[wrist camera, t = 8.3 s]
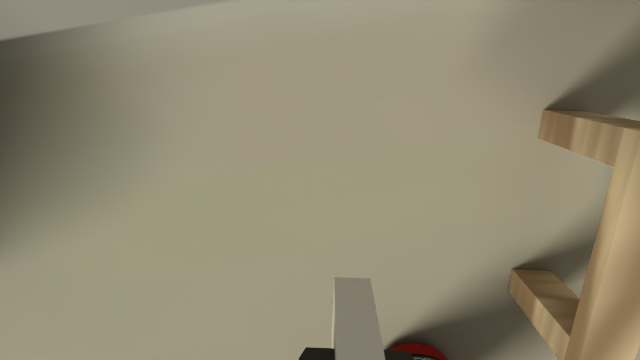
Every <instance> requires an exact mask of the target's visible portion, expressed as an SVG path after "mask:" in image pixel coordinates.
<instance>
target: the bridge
mask: <svg viewBox="0 0 640 360" xmlns="http://www.w3.org/2000/svg"><path fill="white" fill-rule="evenodd" d="M538 138H539V139H542V140H544V141H547V142H550V143H552V144H555V145H558V146H560V147H563V148H566V149H568V150H571V151H574V152H576V153H579V154H582V155H585V156H587V157H590V158H593V159H595V160H598V161H601V162H603V163H606V164H609V165H611V166H614V169H613V173H612V177H611V181H610V185H609V189H608V193H607V196H606V200H605V204H604V208H603V212H602V216H601V219H600V223H599V227H598V231H597V235H596V239H595V243H594V246H593V250H592V254H591V258H590V262H589V266H588V269H587V273H586V277H585V281H584V285H583V289H582V293H581V296H580V299H579V298H578V297H577V296H576V295H575V294H574V293H573V292H572V291H571V290H570V289H569V288H568V287H567V286H566V285H565V284H564V283H563V282H562V281H561V280H560V279H559V278H558V277H557V276H556V275H555V274H553V273H552V272H551V271H544V270H524V269H512V273H511V278H510V283H509V288H508V292H509V293H510V294H511V296H512V297H513V299H514V300H515V301H516V303H517V304H518V305H519V307H520V308H521V309H522V311H523V312H524V313H525V315H526V316H527V317H528V319H529V320H530V321H531V323H532V324H533V325H534V327H535V328H536V329H537V331H538V332H539V334H540V335H541V336H542V338H543V339H544V340H545V342H546V343H547V344H548V346H549V347H550V348H551V350H552V351H553V352H554V354H555V355H556V356H557V358H558V359H559V360H635V358H636V355H637V352H638V349H639V346H640V121H635V120H630V119H624V118H619V117H614V116H609V115H604V114H598V113H593V112H588V111H563V110H543V115H542V120H541V125H540V130H539V135H538Z"/></svg>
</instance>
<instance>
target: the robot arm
mask: <svg viewBox="0 0 640 360" xmlns="http://www.w3.org/2000/svg"><path fill="white" fill-rule="evenodd" d="M299 360H415V359H414V358H413V357H412V355H411V354H410V353H409V352H408V351H402V350H383V345H382V339H381V334H380V329H379V323H378V318H377V313H376V307H375V302H374V297H373V291H372V286H371V281H370V279H363V278H338V277H334V294H333V316H332V349H331V348H308V347H306V348H305V350H304V351H303V353H302V354H301V356H300V358H299Z"/></svg>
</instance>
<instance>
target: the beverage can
mask: <svg viewBox="0 0 640 360" xmlns="http://www.w3.org/2000/svg"><path fill="white" fill-rule="evenodd" d="M390 350H402V351H408V352H409V353H410V354H411V355H412V357H413V358H414V359H415V360H447V359H446V357H445V356H444V355H443V354H442V353H441V352H439V351H438V350H436V349H435V348H433V347H430V346H428V345H424V344H418V343H408V344H402V345H399V346H396V347H394V348H392V349H390Z"/></svg>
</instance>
